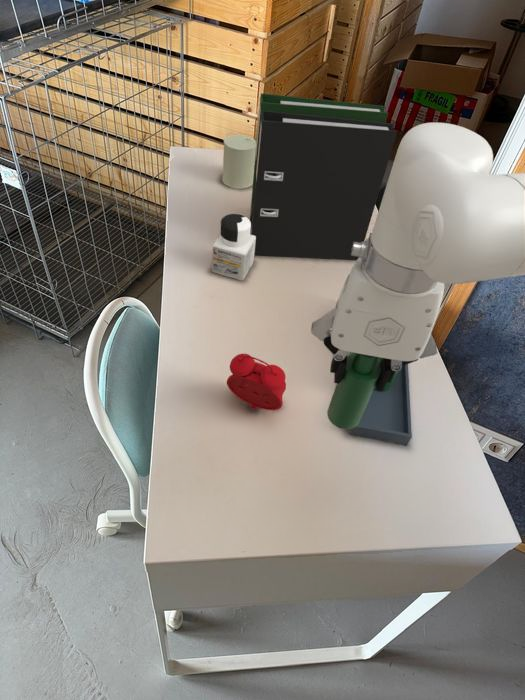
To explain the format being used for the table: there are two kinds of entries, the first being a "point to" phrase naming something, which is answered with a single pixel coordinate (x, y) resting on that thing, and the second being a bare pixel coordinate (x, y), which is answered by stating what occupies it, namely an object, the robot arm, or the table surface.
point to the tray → (388, 413)
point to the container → (234, 247)
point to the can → (238, 161)
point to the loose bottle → (354, 390)
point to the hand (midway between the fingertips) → (358, 377)
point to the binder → (316, 175)
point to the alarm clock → (257, 382)
